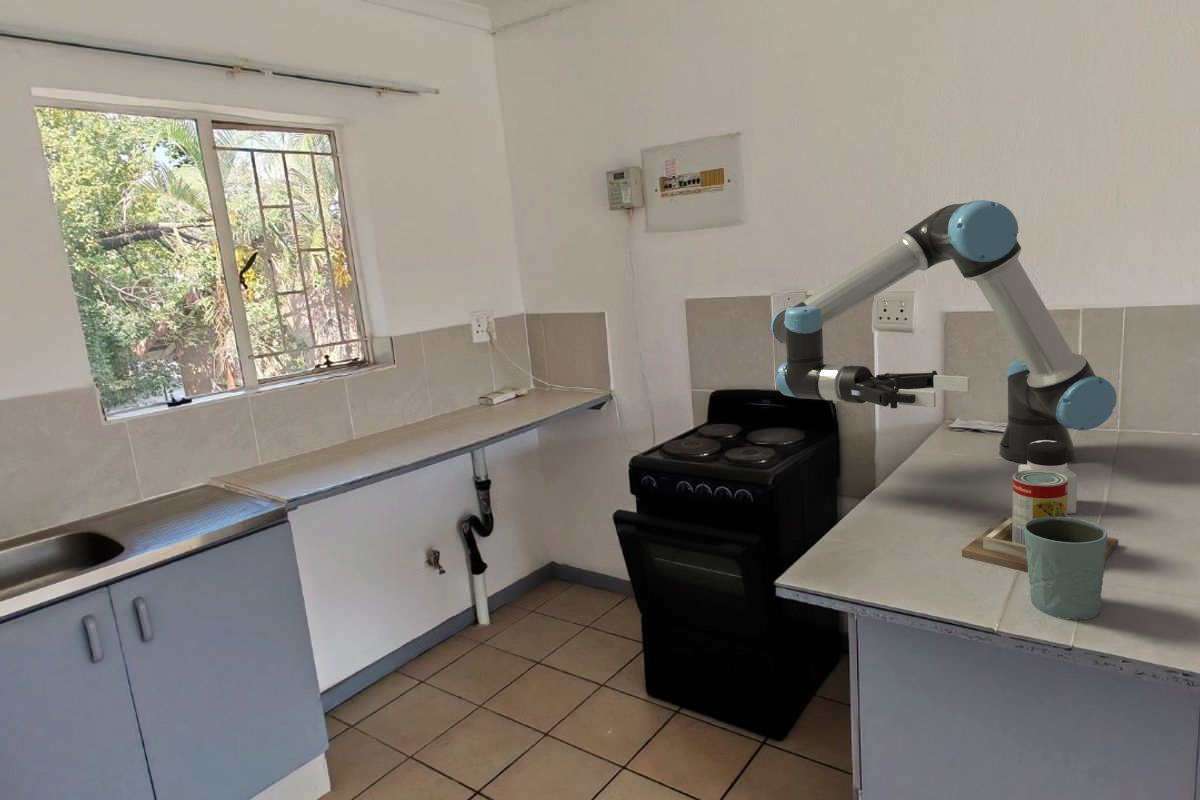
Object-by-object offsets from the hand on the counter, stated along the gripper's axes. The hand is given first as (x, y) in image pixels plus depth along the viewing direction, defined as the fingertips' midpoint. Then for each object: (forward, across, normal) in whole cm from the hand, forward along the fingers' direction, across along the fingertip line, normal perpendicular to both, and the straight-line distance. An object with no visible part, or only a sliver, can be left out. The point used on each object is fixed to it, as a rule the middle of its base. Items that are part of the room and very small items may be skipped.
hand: (952, 391), depth 134 cm
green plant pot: (+25, +20, -26) cm, 41 cm away
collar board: (+16, +3, -26) cm, 31 cm away
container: (+10, -18, -26) cm, 33 cm away
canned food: (+16, +3, -25) cm, 30 cm away
